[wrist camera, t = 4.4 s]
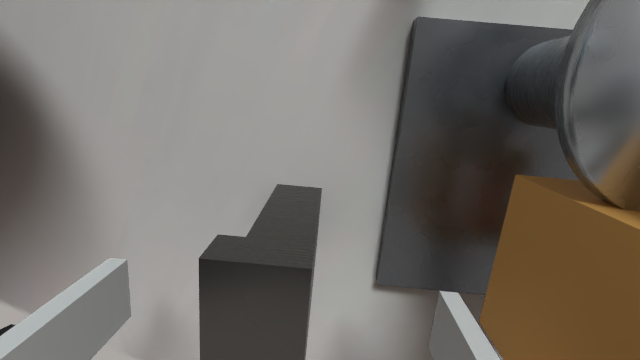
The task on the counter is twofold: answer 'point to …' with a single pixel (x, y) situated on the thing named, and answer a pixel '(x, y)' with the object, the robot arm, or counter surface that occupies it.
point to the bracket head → (564, 276)
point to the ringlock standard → (505, 134)
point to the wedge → (262, 282)
